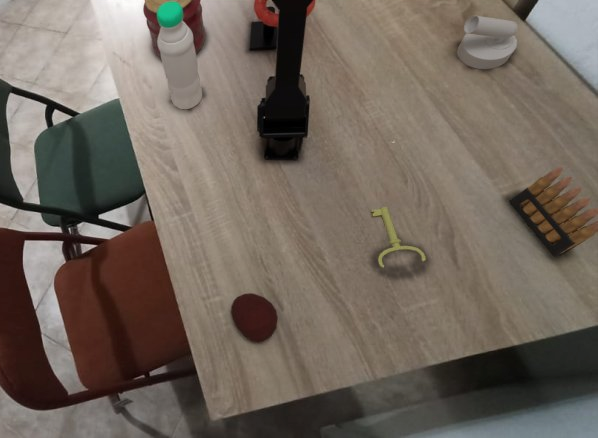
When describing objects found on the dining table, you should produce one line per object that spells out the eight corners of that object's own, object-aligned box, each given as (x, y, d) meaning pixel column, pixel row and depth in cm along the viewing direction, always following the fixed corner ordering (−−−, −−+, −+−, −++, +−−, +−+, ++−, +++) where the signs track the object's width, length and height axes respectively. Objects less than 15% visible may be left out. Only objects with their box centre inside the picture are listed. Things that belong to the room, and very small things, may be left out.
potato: (268, 293, 79) (269, 284, 73) (283, 339, 75) (285, 333, 70) (228, 302, 80) (226, 293, 75) (240, 348, 76) (239, 342, 71)
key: (381, 207, 79) (385, 202, 77) (429, 265, 74) (434, 261, 72) (345, 225, 80) (347, 221, 78) (390, 284, 74) (393, 280, 72)
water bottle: (167, 108, 101) (144, 21, 79) (177, 84, 103) (157, -7, 81) (196, 112, 98) (180, 24, 77) (206, 87, 101) (193, -5, 79)
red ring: (250, 31, 91) (250, 22, 89) (257, -14, 94) (257, -24, 92) (312, 29, 87) (313, 20, 85) (317, -18, 90) (318, -28, 88)
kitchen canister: (171, 17, 112) (158, -47, 97) (215, 30, 107) (209, -36, 91) (143, 54, 110) (125, -6, 94) (187, 69, 104) (175, 8, 89)
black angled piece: (249, 51, 102) (249, 25, 95) (251, 25, 105) (251, -2, 98) (286, 48, 99) (288, 22, 93) (287, 22, 102) (289, -5, 96)
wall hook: (463, 2, 81) (527, -10, 79) (443, 41, 90) (501, 31, 87) (478, 36, 78) (546, 25, 75) (456, 73, 86) (516, 64, 83)
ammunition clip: (566, 252, 69) (622, 222, 59) (554, 256, 69) (607, 227, 59) (520, 197, 74) (563, 160, 64) (508, 200, 74) (550, 164, 64)
